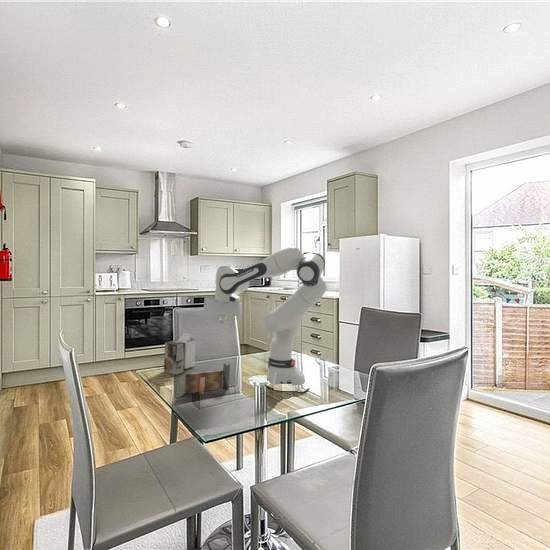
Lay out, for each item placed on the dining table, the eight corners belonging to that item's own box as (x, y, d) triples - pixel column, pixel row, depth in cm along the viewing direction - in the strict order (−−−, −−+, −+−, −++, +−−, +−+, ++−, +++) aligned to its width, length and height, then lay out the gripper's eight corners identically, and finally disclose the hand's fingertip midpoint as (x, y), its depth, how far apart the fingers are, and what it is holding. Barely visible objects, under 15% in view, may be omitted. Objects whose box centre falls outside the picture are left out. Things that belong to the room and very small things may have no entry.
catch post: (205, 392, 189) (205, 376, 188) (203, 394, 186) (203, 378, 186) (200, 391, 189) (200, 376, 189) (198, 393, 187) (199, 377, 186)
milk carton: (184, 369, 222) (186, 335, 221) (176, 366, 227) (177, 333, 226) (194, 367, 228) (196, 333, 227) (186, 364, 232) (187, 331, 231)
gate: (220, 387, 196) (221, 369, 195) (222, 388, 194) (223, 370, 194) (184, 391, 187) (185, 373, 186) (185, 393, 185) (186, 374, 184)
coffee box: (184, 372, 217) (185, 342, 216) (175, 375, 212) (177, 344, 211) (172, 368, 222) (173, 340, 221) (163, 371, 216) (164, 342, 216)
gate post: (229, 387, 197) (230, 363, 197) (227, 389, 194) (228, 365, 193) (223, 386, 198) (224, 362, 197) (221, 389, 195) (222, 364, 194)
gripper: (202, 295, 208) (200, 322, 208) (240, 299, 204) (238, 326, 205) (206, 294, 214) (205, 320, 215) (243, 297, 210) (242, 324, 211)
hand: (222, 323), depth 210 cm, fingers closed
